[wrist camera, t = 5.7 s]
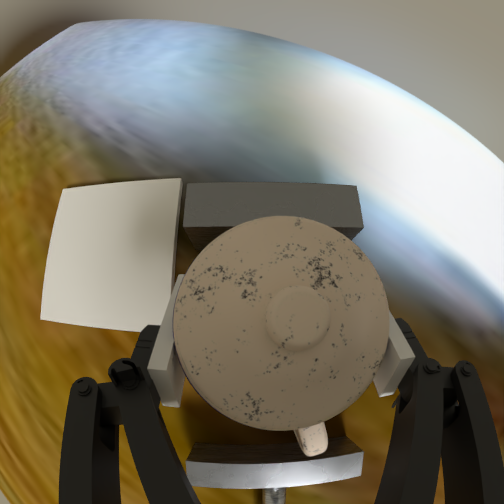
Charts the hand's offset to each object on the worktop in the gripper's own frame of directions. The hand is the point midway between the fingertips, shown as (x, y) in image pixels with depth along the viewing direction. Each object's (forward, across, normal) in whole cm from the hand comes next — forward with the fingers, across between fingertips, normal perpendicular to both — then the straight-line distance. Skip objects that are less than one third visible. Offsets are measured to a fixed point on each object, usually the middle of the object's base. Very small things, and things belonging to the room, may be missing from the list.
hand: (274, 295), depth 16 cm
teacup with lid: (+1, 0, -5) cm, 5 cm away
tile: (+6, -13, 0) cm, 14 cm away
